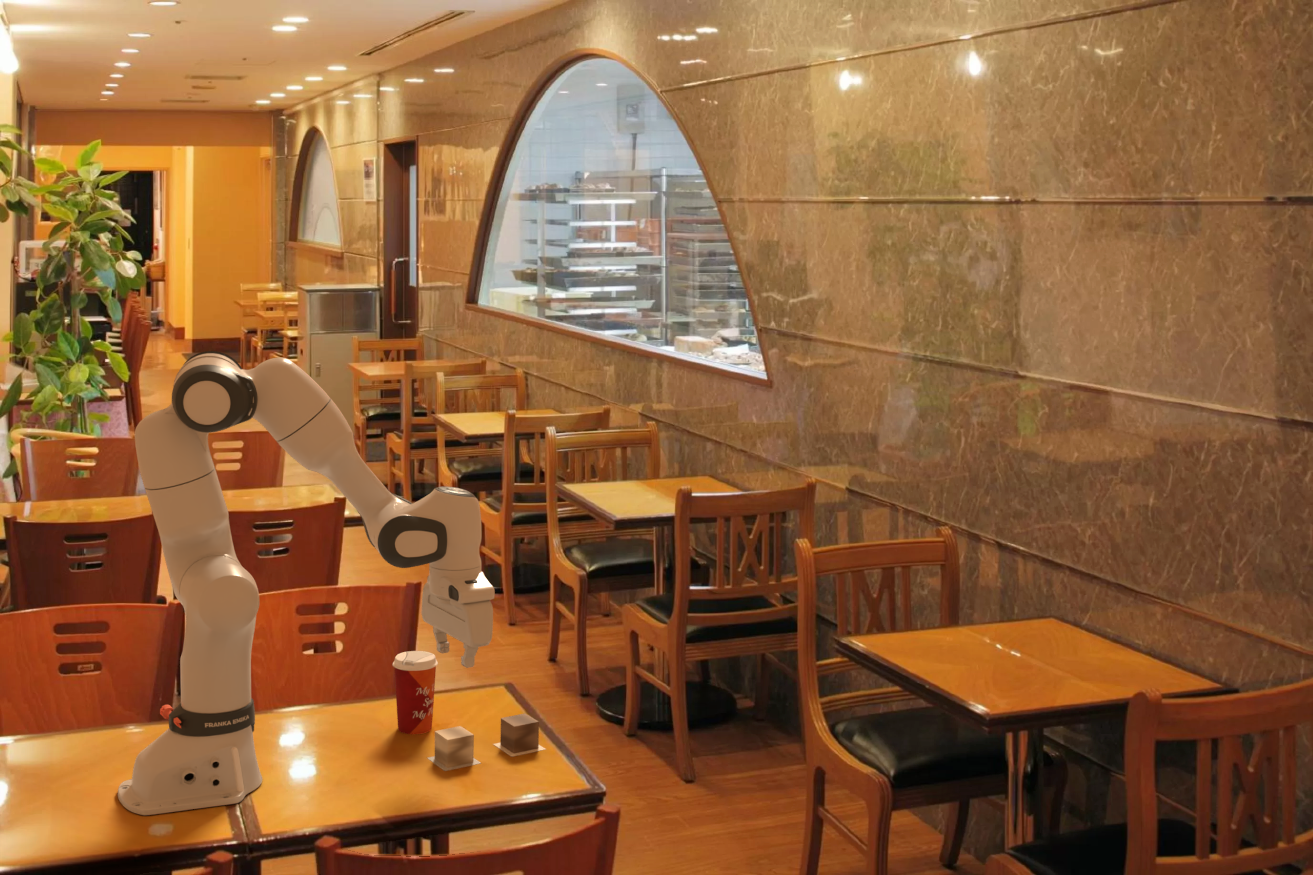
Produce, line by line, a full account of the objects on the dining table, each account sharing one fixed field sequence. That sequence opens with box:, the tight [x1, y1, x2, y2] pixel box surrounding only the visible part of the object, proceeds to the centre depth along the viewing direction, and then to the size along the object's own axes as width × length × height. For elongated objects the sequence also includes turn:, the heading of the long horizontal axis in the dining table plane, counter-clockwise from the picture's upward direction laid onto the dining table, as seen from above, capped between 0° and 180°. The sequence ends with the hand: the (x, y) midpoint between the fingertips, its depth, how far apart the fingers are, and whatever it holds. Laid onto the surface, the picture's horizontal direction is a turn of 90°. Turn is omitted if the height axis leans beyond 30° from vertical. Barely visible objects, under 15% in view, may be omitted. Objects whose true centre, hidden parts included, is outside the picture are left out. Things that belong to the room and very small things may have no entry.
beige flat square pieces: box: [426, 742, 547, 772], centre depth 238 cm, size 22×14×1 cm, turn 125°
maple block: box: [434, 725, 475, 768], centre depth 234 cm, size 5×5×5 cm
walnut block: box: [499, 713, 540, 754], centre depth 241 cm, size 5×5×5 cm
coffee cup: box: [392, 650, 439, 735], centre depth 249 cm, size 8×8×15 cm
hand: (455, 659), depth 232 cm, fingers open, 8 cm apart
